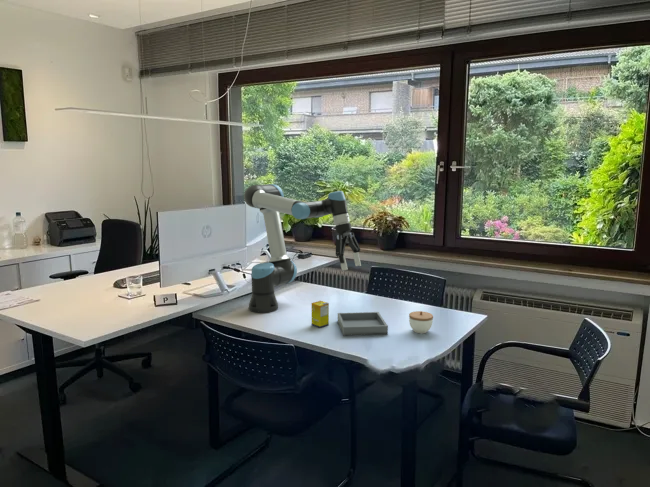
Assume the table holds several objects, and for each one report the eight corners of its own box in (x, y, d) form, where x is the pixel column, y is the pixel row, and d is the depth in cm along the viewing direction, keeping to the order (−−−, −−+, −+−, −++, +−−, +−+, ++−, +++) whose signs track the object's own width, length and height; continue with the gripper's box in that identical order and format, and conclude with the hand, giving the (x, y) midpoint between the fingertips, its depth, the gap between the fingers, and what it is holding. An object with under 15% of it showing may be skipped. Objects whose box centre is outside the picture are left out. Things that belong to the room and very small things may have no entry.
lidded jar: (427, 336, 217) (428, 316, 215) (404, 332, 222) (405, 312, 221) (435, 329, 226) (436, 310, 224) (413, 325, 231) (414, 306, 230)
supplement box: (320, 322, 235) (320, 300, 233) (329, 325, 231) (329, 303, 229) (311, 325, 231) (311, 302, 229) (319, 328, 227) (319, 305, 225)
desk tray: (337, 321, 237) (337, 313, 236) (378, 319, 239) (378, 311, 238) (343, 335, 217) (343, 327, 217) (387, 334, 219) (387, 325, 219)
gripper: (336, 224, 219) (345, 270, 218) (361, 220, 240) (370, 263, 240) (322, 227, 222) (331, 273, 222) (348, 223, 244) (357, 265, 244)
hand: (351, 268), depth 231 cm, fingers open, 13 cm apart
